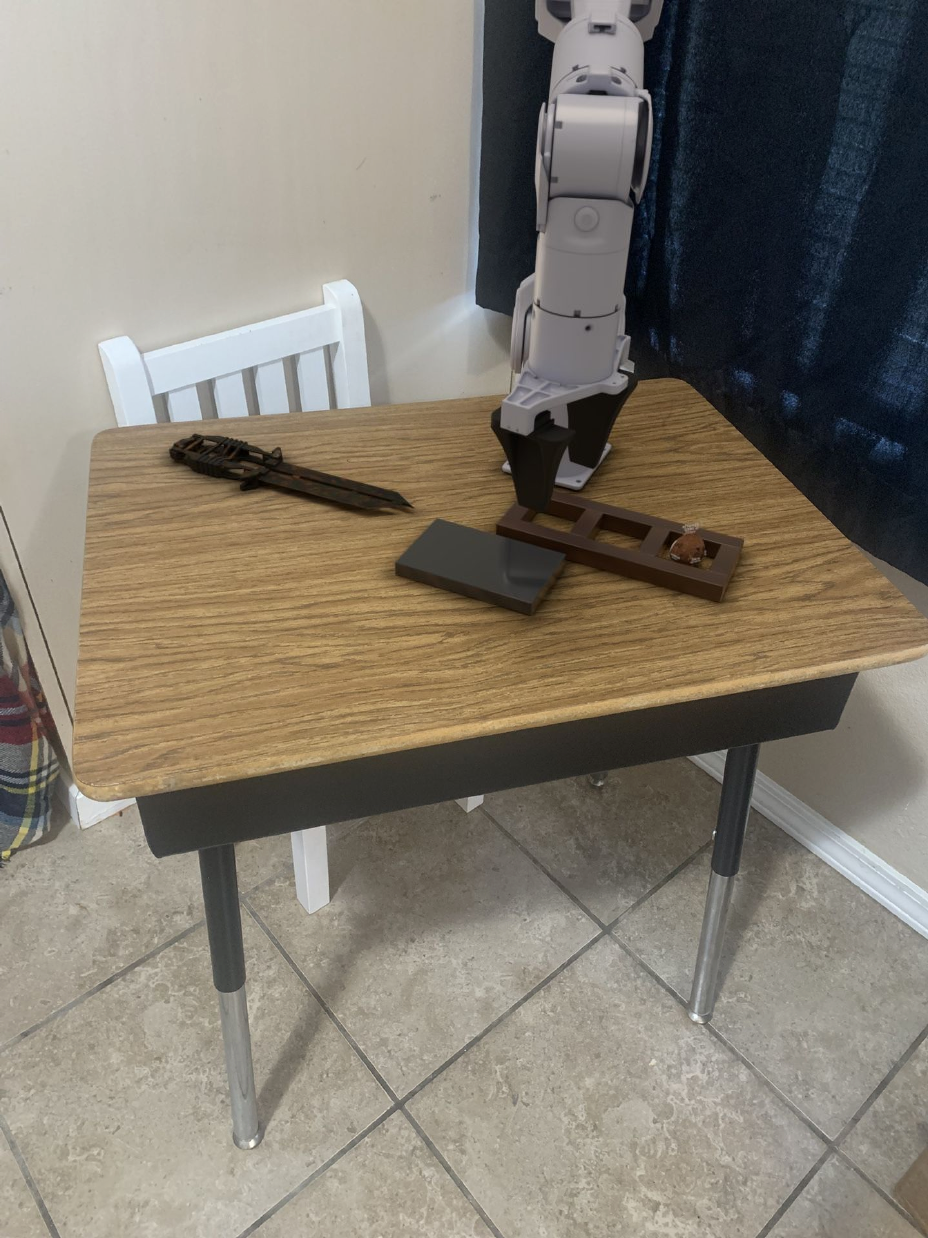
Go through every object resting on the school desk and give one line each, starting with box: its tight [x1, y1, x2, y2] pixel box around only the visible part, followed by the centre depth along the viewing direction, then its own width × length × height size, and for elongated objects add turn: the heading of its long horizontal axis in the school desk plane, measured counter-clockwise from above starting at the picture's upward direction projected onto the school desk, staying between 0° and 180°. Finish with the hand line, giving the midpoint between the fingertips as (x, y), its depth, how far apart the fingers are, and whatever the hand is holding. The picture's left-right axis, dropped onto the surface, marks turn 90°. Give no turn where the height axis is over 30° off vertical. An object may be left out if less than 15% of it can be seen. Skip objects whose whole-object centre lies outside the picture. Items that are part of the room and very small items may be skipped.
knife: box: [168, 433, 416, 510], centre depth 90 cm, size 25×6×1 cm, turn 60°
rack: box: [495, 489, 745, 603], centre depth 83 cm, size 8×20×2 cm, turn 65°
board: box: [394, 517, 567, 616], centre depth 80 cm, size 8×12×1 cm, turn 65°
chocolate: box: [669, 520, 707, 567], centre depth 81 cm, size 3×2×4 cm
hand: (558, 484), depth 72 cm, fingers open, 7 cm apart
